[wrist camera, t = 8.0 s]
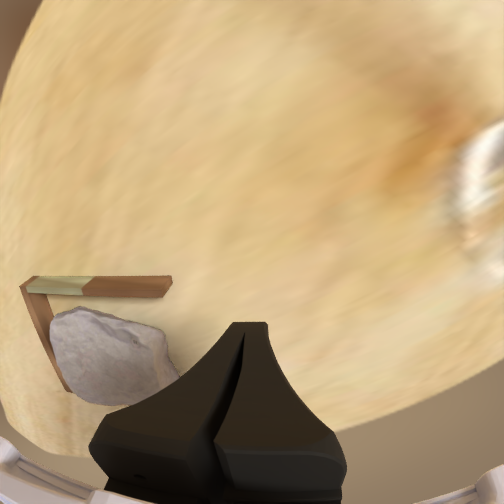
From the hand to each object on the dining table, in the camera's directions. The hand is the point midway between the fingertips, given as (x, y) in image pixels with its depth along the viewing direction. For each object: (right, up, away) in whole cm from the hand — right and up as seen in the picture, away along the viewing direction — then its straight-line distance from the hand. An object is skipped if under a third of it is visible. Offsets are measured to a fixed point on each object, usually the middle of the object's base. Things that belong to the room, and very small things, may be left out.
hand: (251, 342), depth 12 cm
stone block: (-12, -5, +15) cm, 20 cm away
